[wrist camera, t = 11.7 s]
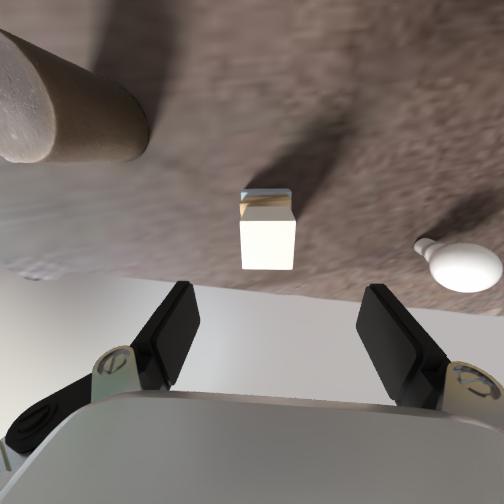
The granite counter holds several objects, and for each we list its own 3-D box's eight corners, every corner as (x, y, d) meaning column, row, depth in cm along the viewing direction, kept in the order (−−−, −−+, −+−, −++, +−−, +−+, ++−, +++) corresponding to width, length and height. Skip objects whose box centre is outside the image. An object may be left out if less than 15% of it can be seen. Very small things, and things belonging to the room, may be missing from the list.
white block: (289, 206, 23) (295, 220, 17) (286, 245, 25) (292, 269, 19) (246, 206, 23) (239, 221, 18) (247, 245, 25) (242, 268, 20)
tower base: (288, 188, 30) (291, 192, 27) (286, 231, 33) (288, 239, 30) (244, 188, 31) (241, 192, 27) (245, 230, 34) (242, 239, 30)
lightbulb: (391, 246, 33) (444, 283, 23) (427, 217, 30) (504, 245, 21) (414, 267, 34) (474, 311, 24) (450, 241, 32) (533, 278, 22)
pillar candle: (147, 90, 26) (13, 13, 12) (150, 168, 30) (54, 174, 17) (76, 76, 26) (-134, -16, 13) (89, 156, 30) (-58, 152, 17)
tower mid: (287, 193, 27) (291, 200, 22) (287, 234, 29) (291, 248, 25) (244, 196, 27) (239, 204, 23) (248, 236, 30) (244, 250, 25)
